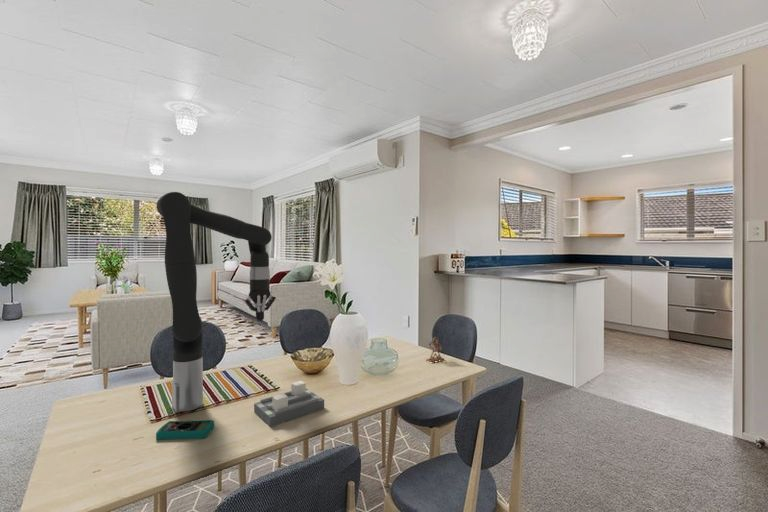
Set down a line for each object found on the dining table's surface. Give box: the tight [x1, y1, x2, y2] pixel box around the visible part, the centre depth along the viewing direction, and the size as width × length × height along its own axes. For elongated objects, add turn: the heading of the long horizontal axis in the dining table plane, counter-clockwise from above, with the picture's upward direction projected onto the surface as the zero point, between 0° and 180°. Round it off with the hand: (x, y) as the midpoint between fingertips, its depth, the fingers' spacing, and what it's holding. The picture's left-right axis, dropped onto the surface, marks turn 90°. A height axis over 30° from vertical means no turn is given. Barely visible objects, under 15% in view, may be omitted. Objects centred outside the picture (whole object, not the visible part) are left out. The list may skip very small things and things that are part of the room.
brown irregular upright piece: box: [425, 336, 445, 363], centre depth 179 cm, size 9×4×12 cm, turn 122°
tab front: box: [272, 392, 288, 411], centre depth 119 cm, size 4×3×4 cm
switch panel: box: [253, 388, 325, 427], centre depth 125 cm, size 20×13×4 cm, turn 131°
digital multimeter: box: [155, 419, 215, 441], centre depth 109 cm, size 7×15×3 cm, turn 94°
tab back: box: [290, 380, 307, 396], centre depth 130 cm, size 4×3×4 cm
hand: (259, 320), depth 143 cm, fingers closed
